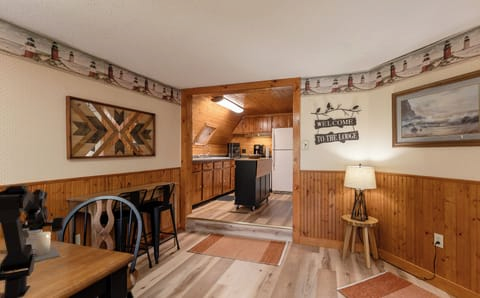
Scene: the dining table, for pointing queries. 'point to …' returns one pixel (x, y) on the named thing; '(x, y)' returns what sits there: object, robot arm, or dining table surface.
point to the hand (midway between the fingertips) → (40, 235)
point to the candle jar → (42, 243)
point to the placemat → (52, 254)
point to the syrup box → (32, 237)
